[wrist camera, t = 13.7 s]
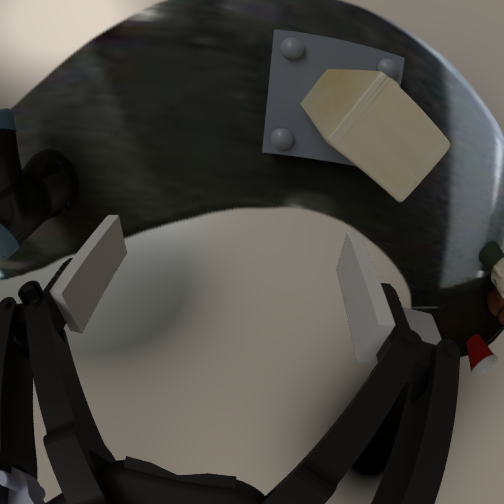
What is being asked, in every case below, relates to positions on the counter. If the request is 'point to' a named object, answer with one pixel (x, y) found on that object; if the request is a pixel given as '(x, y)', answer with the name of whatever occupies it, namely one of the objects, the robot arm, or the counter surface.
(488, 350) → the plastic cup
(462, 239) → the counter surface
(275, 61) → the base brick
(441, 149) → the toy refrigerator
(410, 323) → the white spray bottle
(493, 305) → the wooden figurine
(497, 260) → the character mug
